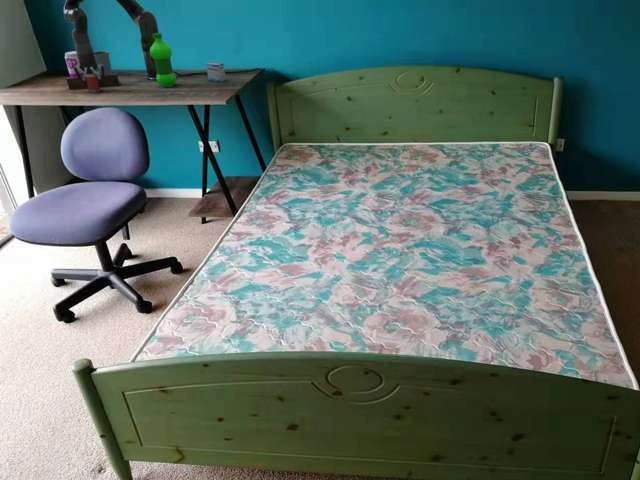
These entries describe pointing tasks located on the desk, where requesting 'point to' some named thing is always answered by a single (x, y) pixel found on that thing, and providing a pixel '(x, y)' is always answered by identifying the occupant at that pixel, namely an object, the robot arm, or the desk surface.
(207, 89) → the desk surface
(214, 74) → the medicine box
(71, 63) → the supplement can
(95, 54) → the grey cup
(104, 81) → the wooden wall
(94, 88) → the tin can
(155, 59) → the plastic bottle
